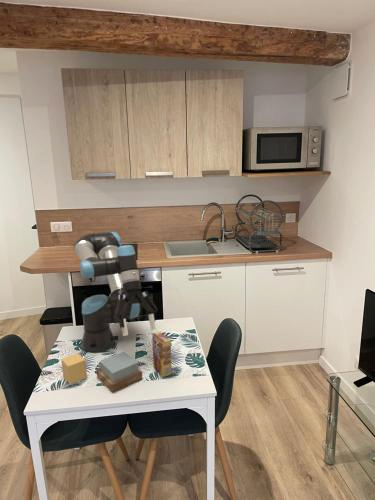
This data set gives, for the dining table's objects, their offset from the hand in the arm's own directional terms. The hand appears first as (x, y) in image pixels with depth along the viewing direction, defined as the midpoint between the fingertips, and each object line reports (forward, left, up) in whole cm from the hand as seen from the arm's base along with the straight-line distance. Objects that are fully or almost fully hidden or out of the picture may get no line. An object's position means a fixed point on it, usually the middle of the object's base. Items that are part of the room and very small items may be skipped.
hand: (140, 332), depth 145 cm
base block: (+1, -11, -16) cm, 20 cm away
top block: (+1, -11, -12) cm, 17 cm away
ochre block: (-12, -24, -16) cm, 31 cm away
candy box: (+8, +5, -16) cm, 19 cm away
